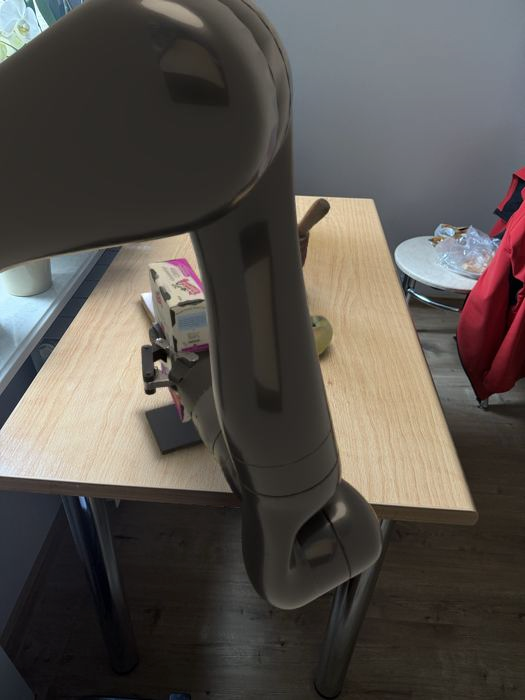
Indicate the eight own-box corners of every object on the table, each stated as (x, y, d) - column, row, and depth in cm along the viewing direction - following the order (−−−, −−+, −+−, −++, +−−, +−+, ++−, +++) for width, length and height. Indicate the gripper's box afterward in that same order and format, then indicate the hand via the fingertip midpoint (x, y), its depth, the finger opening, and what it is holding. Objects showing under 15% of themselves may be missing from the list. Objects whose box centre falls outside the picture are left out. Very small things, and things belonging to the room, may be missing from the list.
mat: (162, 454, 67) (161, 451, 66) (145, 414, 72) (145, 411, 72) (235, 432, 70) (235, 429, 70) (214, 395, 76) (214, 392, 76)
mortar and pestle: (320, 288, 103) (331, 186, 91) (319, 311, 96) (331, 204, 84) (261, 283, 103) (264, 181, 92) (255, 306, 96) (258, 199, 85)
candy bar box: (222, 414, 65) (215, 298, 55) (182, 425, 63) (168, 308, 54) (196, 363, 73) (186, 255, 64) (160, 371, 72) (144, 262, 62)
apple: (328, 334, 90) (332, 304, 86) (333, 362, 83) (337, 331, 80) (293, 333, 90) (295, 303, 86) (295, 361, 83) (297, 330, 80)
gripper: (296, 362, 53) (231, 286, 65) (155, 400, 48) (114, 309, 60) (292, 418, 57) (232, 337, 70) (162, 458, 52) (123, 362, 64)
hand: (177, 324), depth 65 cm, fingers closed on candy bar box, 5 cm apart
